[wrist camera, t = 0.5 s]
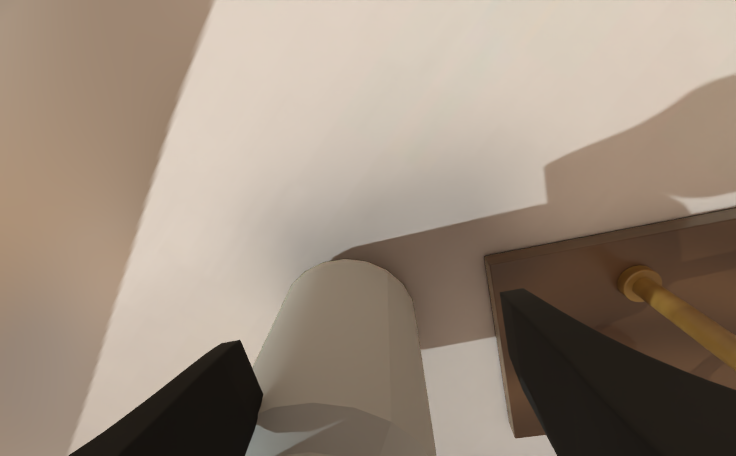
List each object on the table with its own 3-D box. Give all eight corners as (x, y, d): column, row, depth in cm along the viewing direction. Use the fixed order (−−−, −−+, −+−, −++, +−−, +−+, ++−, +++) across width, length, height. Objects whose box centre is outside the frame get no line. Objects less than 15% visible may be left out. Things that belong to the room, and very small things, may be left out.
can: (264, 323, 22) (136, 572, 10) (329, 226, 19) (256, 412, 8) (367, 380, 23) (353, 659, 12) (440, 296, 20) (511, 542, 9)
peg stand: (748, 391, 21) (981, 577, 13) (509, 422, 23) (576, 603, 15) (770, 200, 18) (1113, 288, 9) (483, 255, 20) (554, 370, 11)
